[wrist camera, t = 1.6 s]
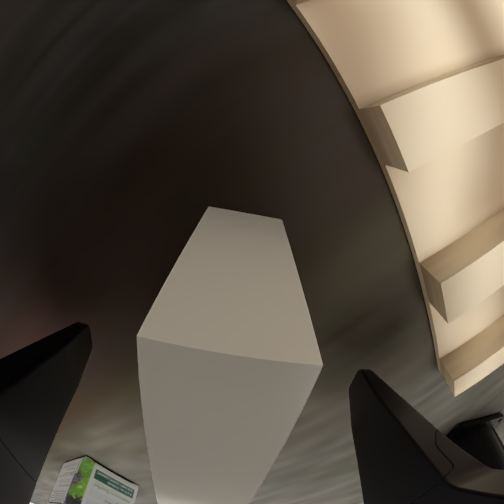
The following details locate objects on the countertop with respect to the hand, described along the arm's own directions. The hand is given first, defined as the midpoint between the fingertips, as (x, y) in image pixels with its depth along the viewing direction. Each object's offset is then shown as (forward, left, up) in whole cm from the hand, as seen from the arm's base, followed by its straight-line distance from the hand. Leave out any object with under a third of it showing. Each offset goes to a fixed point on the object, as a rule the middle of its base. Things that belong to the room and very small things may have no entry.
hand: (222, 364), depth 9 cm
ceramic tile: (0, 0, -3) cm, 3 cm away
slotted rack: (-10, -9, -3) cm, 14 cm away
